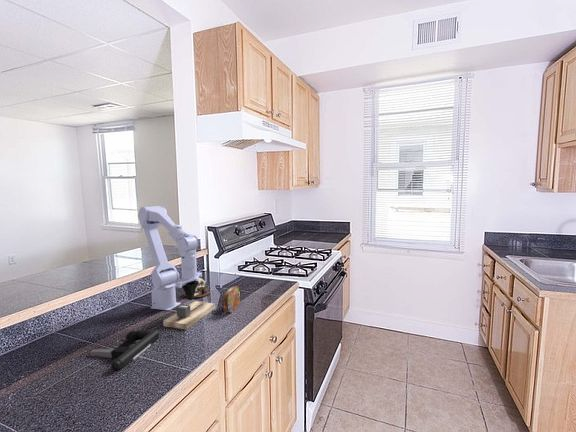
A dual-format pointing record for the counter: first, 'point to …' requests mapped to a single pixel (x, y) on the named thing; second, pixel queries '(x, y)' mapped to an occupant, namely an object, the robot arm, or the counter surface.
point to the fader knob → (183, 311)
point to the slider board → (197, 313)
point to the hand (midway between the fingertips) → (190, 299)
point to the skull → (200, 289)
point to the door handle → (128, 348)
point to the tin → (231, 299)
